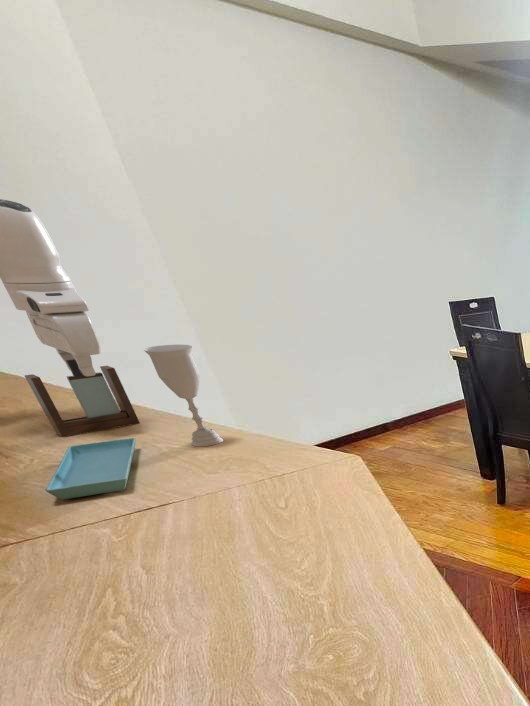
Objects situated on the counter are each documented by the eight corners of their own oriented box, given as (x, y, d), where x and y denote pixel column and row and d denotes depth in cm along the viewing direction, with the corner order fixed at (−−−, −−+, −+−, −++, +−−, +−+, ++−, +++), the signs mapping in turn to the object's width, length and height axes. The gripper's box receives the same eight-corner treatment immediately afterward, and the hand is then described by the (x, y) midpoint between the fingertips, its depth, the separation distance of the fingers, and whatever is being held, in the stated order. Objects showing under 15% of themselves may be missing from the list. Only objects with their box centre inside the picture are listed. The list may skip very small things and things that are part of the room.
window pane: (90, 422, 120) (60, 361, 114) (88, 421, 120) (58, 360, 115) (122, 416, 124) (94, 357, 118) (120, 415, 124) (92, 357, 118)
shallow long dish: (73, 456, 108) (66, 443, 106) (140, 447, 113) (134, 435, 112) (52, 505, 90) (43, 490, 89) (133, 492, 95) (126, 478, 94)
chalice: (183, 440, 117) (141, 346, 108) (225, 434, 121) (189, 343, 113) (187, 450, 113) (144, 353, 104) (231, 443, 117) (194, 349, 108)
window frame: (62, 437, 116) (30, 378, 111) (55, 433, 118) (24, 375, 112) (140, 423, 125) (114, 367, 120) (133, 420, 127) (107, 365, 121)
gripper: (3, 294, 113) (42, 368, 120) (41, 304, 104) (80, 383, 111) (49, 292, 118) (84, 363, 124) (89, 302, 109) (124, 377, 116)
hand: (83, 373), depth 118 cm, fingers open, 5 cm apart
